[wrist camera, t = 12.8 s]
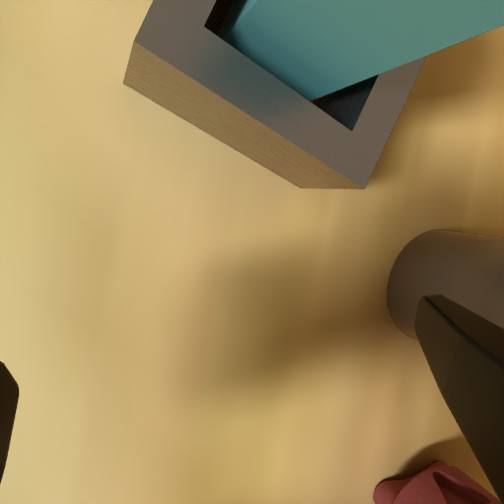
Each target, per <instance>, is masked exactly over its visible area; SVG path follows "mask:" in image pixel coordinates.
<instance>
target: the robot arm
mask: <svg viewBox="0 0 504 504" xmlns="http://www.w3.org/2000/svg"><path fill="white" fill-rule="evenodd" d="M414 329H415V333H416V335H417V338H418V340H419V342H420V345H421V347H422V350H423V352H424V354H425V357H426V359H427V362H428V364H429V366H430V369H431V371H432V373H433V376H434V378H435V381H436V383H437V385H438V387H439V390H440V392H441V394H442V396H443V398H444V400H445V402H446V404H447V406H448V407H449V409H450V411H451V413H452V415H453V416H454V418H455V420H456V422H457V424H458V425H459V427H460V429H461V431H462V433H463V434H464V436H465V438H466V440H467V442H468V444H469V445H470V447H471V449H472V451H473V453H474V454H475V456H476V458H477V460H478V462H479V463H480V465H481V467H482V469H483V471H484V472H485V474H486V476H487V478H488V480H489V481H490V483H491V485H492V487H493V489H494V490H495V492H496V494H497V496H498V498H499V499H500V501H501V503H502V504H504V328H502V327H500V326H498V325H496V324H495V323H493V322H491V321H489V320H487V319H485V318H484V317H482V316H480V315H478V314H476V313H475V312H473V311H471V310H469V309H467V308H465V307H464V306H462V305H460V304H458V303H456V302H454V301H453V300H451V299H449V298H447V297H445V296H443V295H441V294H431V295H425V296H422V297H420V299H419V301H418V306H417V310H416V315H415V320H414ZM18 398H19V387H18V384H17V382H16V381H15V379H14V378H13V376H12V375H11V373H10V372H9V370H8V369H7V367H6V366H5V364H4V363H3V362H1V361H0V483H1V480H2V476H3V473H4V469H5V465H6V460H7V456H8V451H9V446H10V440H11V435H12V430H13V425H14V419H15V414H16V409H17V404H18Z"/></svg>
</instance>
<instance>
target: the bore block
mask: <svg viewBox="0 0 504 504" xmlns="http://www.w3.org/2000/svg"><path fill="white" fill-rule="evenodd" d="M215 2H216V0H153V2H152V4H151V6H150V8H149V10H148V13H147V15H146V17H145V19H144V21H143V23H142V25H141V27H140V29H139V31H138V33H137V35H136V37H135V40H134V42H133V46H132V50H131V54H130V58H129V62H128V65H127V69H126V73H125V77H124V81H123V84H125V85H127V86H129V87H130V88H132V89H134V90H135V91H137V92H139V93H140V94H142V95H144V96H145V97H147V98H149V99H151V100H152V101H154V102H156V103H157V104H159V105H161V106H162V107H164V108H166V109H167V110H169V111H171V112H173V113H174V114H176V115H178V116H179V117H181V118H183V119H184V120H186V121H188V122H189V123H191V124H193V125H195V126H196V127H198V128H200V129H201V130H203V131H205V132H206V133H208V134H210V135H211V136H213V137H215V138H217V139H218V140H220V141H222V142H223V143H225V144H227V145H228V146H230V147H232V148H233V149H235V150H237V151H239V152H240V153H242V154H244V155H245V156H247V157H249V158H250V159H252V160H254V161H255V162H257V163H259V164H261V165H262V166H264V167H266V168H267V169H269V170H271V171H272V172H274V173H276V174H277V175H279V176H281V177H283V178H284V179H286V180H288V181H289V182H291V183H293V184H294V185H296V186H298V187H299V188H323V189H365V187H366V185H367V183H368V181H369V179H370V176H371V174H372V172H373V170H374V168H375V166H376V164H377V162H378V159H379V157H380V155H381V153H382V151H383V149H384V147H385V145H386V142H387V140H388V138H389V136H390V134H391V132H392V130H393V128H394V125H395V123H396V121H397V119H398V117H399V115H400V113H401V111H402V108H403V106H404V104H405V102H406V100H407V98H408V96H409V94H410V91H411V89H412V87H413V85H414V83H415V81H416V79H417V76H418V74H419V72H420V70H421V68H422V66H423V64H424V62H425V59H426V57H427V55H426V56H424V57H421V58H419V59H416V60H414V61H411V62H409V63H406V64H403V65H401V66H398V67H396V68H393V69H391V70H388V71H386V72H383V73H381V74H378V75H375V76H373V77H370V78H368V79H365V80H363V81H360V82H358V83H355V84H352V85H350V86H347V87H345V88H342V89H340V90H337V91H335V92H332V93H330V94H327V95H324V96H322V97H319V98H317V99H314V100H312V101H308V100H307V99H305V98H304V97H303V96H301V95H300V94H298V93H297V92H296V91H294V90H293V89H291V88H290V87H288V86H287V85H286V84H284V83H283V82H281V81H280V80H279V79H277V78H276V77H274V76H273V75H272V74H270V73H269V72H267V71H266V70H265V69H263V68H262V67H260V66H259V65H257V64H256V63H255V62H253V61H252V60H250V59H249V58H248V57H246V56H245V55H243V54H242V53H241V52H239V51H238V50H236V49H235V48H234V47H232V46H231V45H229V44H228V43H226V42H225V41H224V40H222V39H221V38H219V37H218V36H217V35H215V34H214V33H212V32H211V31H210V30H208V29H207V28H205V27H204V25H205V23H206V21H207V19H208V17H209V14H210V12H211V10H212V8H213V6H214V4H215Z"/></svg>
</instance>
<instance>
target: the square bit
mask: <svg viewBox="0 0 504 504" xmlns="http://www.w3.org/2000/svg"><path fill="white" fill-rule="evenodd" d="M503 25H504V0H234V2H233V4H232V6H231V8H230V11H229V13H228V15H227V17H226V19H225V21H224V23H223V25H222V27H221V29H220V31H219V33H218V35H217V36H218V37H219V38H221V39H222V40H224V41H225V42H226V43H228V44H229V45H231V46H232V47H234V48H235V49H236V50H238V51H239V52H241V53H242V54H243V55H245V56H246V57H248V58H249V59H250V60H252V61H253V62H255V63H256V64H257V65H259V66H260V67H262V68H263V69H265V70H266V71H267V72H269V73H270V74H272V75H273V76H274V77H276V78H277V79H279V80H280V81H281V82H283V83H284V84H286V85H287V86H288V87H290V88H291V89H293V90H294V91H296V92H297V93H298V94H300V95H301V96H303V97H304V98H305V99H307V100H308V101H312V100H314V99H317V98H319V97H322V96H324V95H327V94H330V93H332V92H335V91H337V90H340V89H342V88H345V87H347V86H350V85H352V84H355V83H358V82H360V81H363V80H365V79H368V78H370V77H373V76H375V75H378V74H381V73H383V72H386V71H388V70H391V69H393V68H396V67H398V66H401V65H403V64H406V63H409V62H411V61H414V60H416V59H419V58H421V57H424V56H426V55H429V54H431V53H434V52H437V51H439V50H442V49H444V48H447V47H449V46H452V45H454V44H457V43H460V42H462V41H465V40H467V39H470V38H472V37H475V36H477V35H480V34H482V33H485V32H488V31H490V30H493V29H495V28H498V27H500V26H503Z"/></svg>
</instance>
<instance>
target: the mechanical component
mask: <svg viewBox="0 0 504 504" xmlns="http://www.w3.org/2000/svg"><path fill="white" fill-rule="evenodd" d="M373 499H374V502H375V504H502V503H501V501H499V500H498V499H497V498H496V497H494V496H493V495H492V494H490V493H489V492H488V491H487V490H485V489H484V488H483V487H482V486H480V485H479V484H478V483H476V482H475V481H474V480H472V479H471V478H470V477H469V476H467V475H466V474H465V473H464V472H462V471H461V470H460V469H458V468H456V467H453V466H449V465H448V464H446V463H445V462H443V461H437V462H434V463H433V464H431V465H430V466H429V467H427V468H426V469H425V470H423V471H421V472H420V473H418V474H416V475H414V476H412V477H409V478H406V479H402V480H390V481H384V482H381V483H380V484H379V485H378V486H377V487H376V489H375V491H374V496H373Z"/></svg>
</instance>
